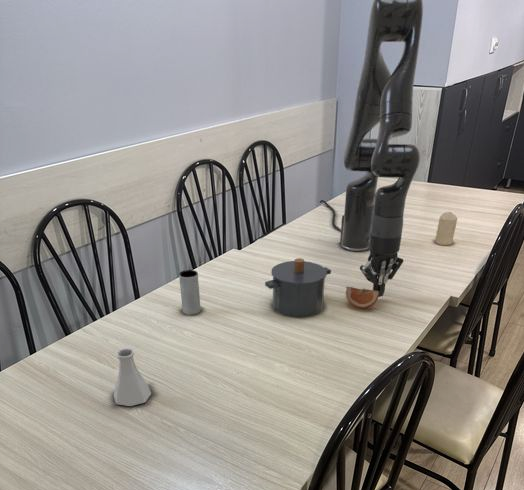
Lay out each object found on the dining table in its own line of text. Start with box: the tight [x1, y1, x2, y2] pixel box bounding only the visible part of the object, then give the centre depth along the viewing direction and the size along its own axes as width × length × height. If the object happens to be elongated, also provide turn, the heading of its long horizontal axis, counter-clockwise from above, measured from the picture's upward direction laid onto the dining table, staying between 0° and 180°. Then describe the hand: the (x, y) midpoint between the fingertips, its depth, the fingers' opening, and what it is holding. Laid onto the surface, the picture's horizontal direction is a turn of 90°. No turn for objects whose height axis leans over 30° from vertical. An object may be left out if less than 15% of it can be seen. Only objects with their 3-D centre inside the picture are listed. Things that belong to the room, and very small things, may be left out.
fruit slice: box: [345, 286, 380, 309], centre depth 129 cm, size 8×7×5 cm
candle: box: [435, 211, 458, 246], centre depth 167 cm, size 6×6×10 cm
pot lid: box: [270, 257, 328, 285], centre depth 125 cm, size 14×14×4 cm
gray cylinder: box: [178, 269, 201, 316], centre depth 125 cm, size 4×4×10 cm
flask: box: [113, 347, 152, 407], centre depth 95 cm, size 7×7×10 cm
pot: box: [264, 266, 332, 318], centre depth 128 cm, size 13×18×9 cm
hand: (377, 295), depth 132 cm, fingers closed
